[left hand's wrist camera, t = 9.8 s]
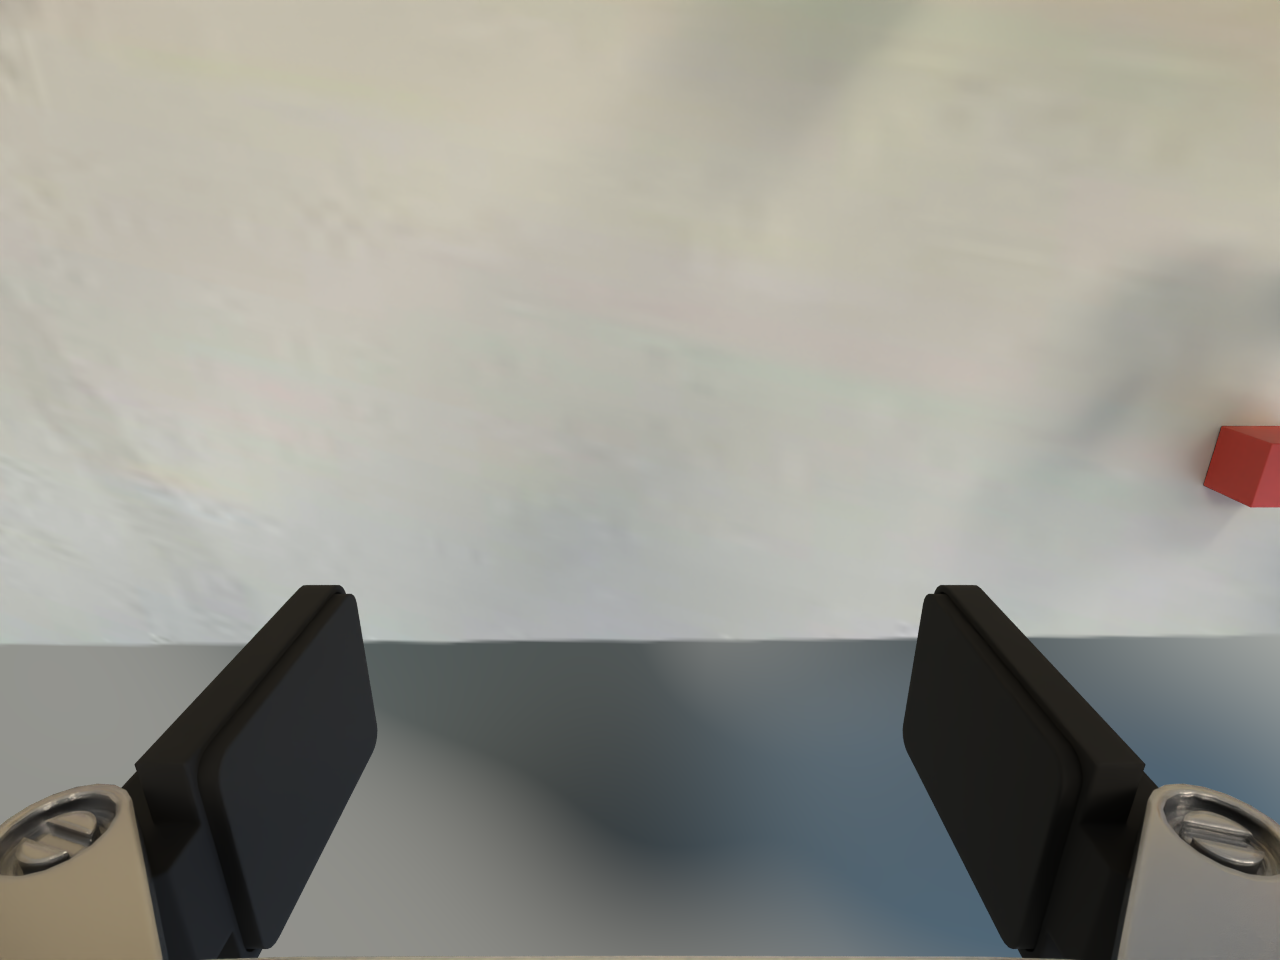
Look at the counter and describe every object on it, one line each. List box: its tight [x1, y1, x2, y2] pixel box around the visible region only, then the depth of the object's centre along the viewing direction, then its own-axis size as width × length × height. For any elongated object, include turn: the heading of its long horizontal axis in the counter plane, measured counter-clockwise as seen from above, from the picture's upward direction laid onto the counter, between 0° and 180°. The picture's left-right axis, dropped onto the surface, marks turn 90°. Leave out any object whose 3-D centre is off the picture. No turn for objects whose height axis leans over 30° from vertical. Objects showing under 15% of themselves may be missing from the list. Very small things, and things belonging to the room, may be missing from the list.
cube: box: [1204, 426, 1280, 507], centre depth 48 cm, size 4×5×4 cm
